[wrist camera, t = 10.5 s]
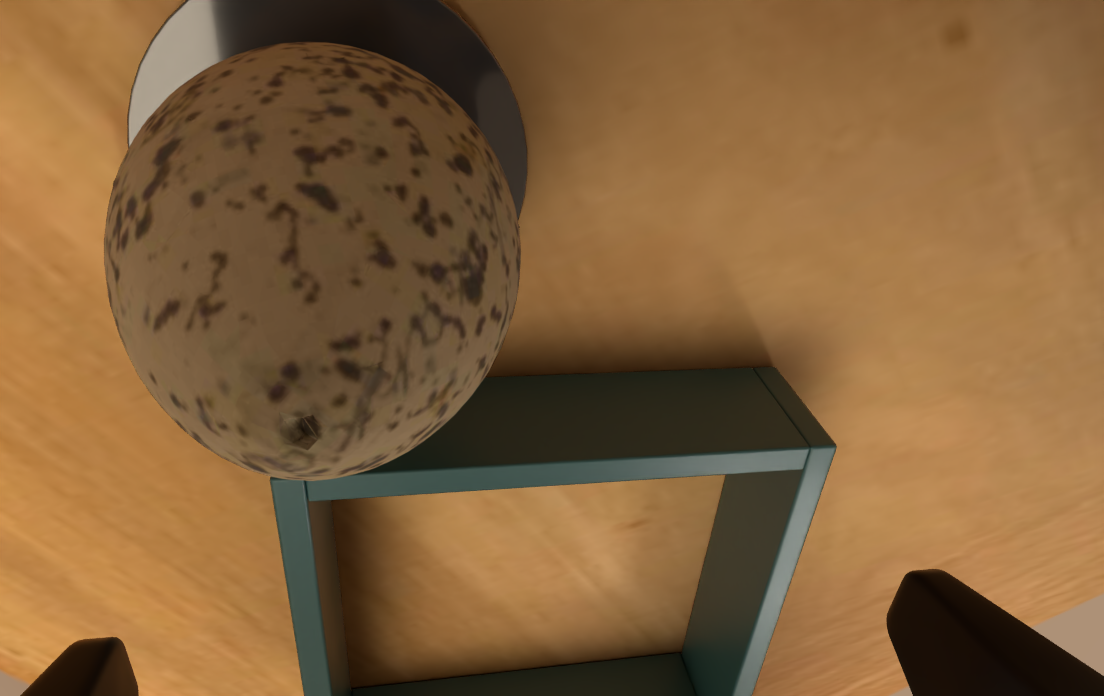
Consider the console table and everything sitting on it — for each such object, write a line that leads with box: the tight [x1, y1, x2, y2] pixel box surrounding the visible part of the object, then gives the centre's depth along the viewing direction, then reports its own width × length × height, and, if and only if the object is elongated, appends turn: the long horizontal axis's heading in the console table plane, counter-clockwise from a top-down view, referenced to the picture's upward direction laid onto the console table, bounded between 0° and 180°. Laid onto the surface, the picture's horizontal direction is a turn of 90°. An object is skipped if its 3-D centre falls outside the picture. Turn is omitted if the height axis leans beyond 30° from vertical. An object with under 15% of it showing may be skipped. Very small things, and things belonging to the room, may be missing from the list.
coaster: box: [127, 0, 527, 220], centre depth 18 cm, size 9×9×1 cm
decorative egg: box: [104, 42, 521, 481], centre depth 14 cm, size 7×7×10 cm
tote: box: [270, 367, 836, 696], centre depth 24 cm, size 15×15×4 cm
